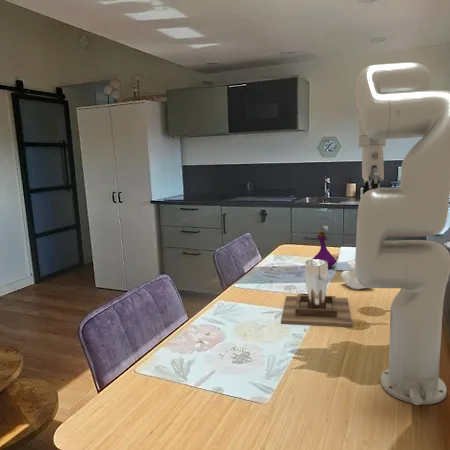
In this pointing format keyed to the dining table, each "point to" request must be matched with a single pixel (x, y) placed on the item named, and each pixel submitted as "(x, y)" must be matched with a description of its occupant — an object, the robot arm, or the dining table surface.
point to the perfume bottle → (324, 249)
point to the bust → (352, 277)
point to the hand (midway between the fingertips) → (370, 200)
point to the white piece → (316, 283)
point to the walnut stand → (316, 312)
